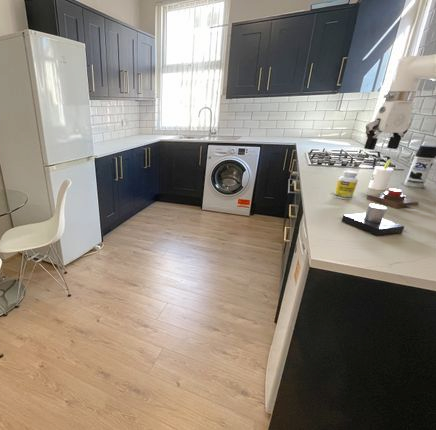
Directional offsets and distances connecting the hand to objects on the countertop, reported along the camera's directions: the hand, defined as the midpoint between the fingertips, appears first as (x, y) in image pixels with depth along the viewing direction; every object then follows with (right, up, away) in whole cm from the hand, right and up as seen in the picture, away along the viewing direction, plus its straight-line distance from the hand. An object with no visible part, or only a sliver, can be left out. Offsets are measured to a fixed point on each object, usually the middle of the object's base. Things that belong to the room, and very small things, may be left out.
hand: (380, 148), depth 101 cm
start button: (+19, -16, +14) cm, 29 cm away
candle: (+29, -12, +32) cm, 45 cm away
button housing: (+19, -19, +16) cm, 31 cm away
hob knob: (-10, -26, -8) cm, 29 cm away
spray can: (+50, -11, +36) cm, 63 cm away
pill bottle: (+4, -17, +22) cm, 28 cm away
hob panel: (-10, -28, -7) cm, 31 cm away
